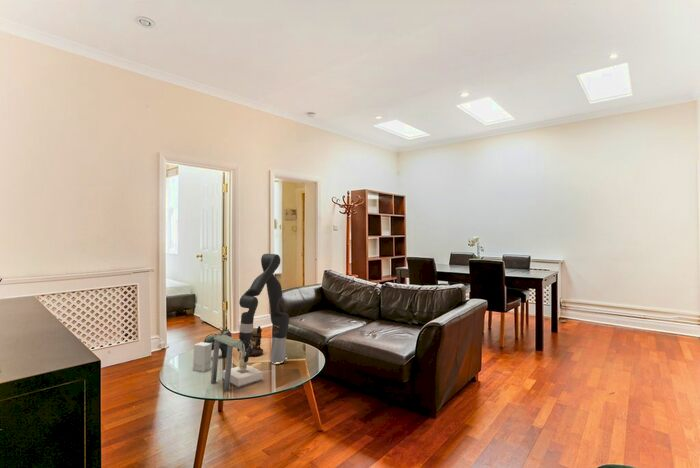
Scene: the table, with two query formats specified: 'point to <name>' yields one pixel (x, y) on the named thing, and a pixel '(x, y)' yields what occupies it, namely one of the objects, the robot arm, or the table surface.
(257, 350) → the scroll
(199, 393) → the table surface
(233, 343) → the twin post stand
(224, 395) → the table surface
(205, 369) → the skincare box
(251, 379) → the socket block
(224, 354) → the ceramic cat
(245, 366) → the peg
